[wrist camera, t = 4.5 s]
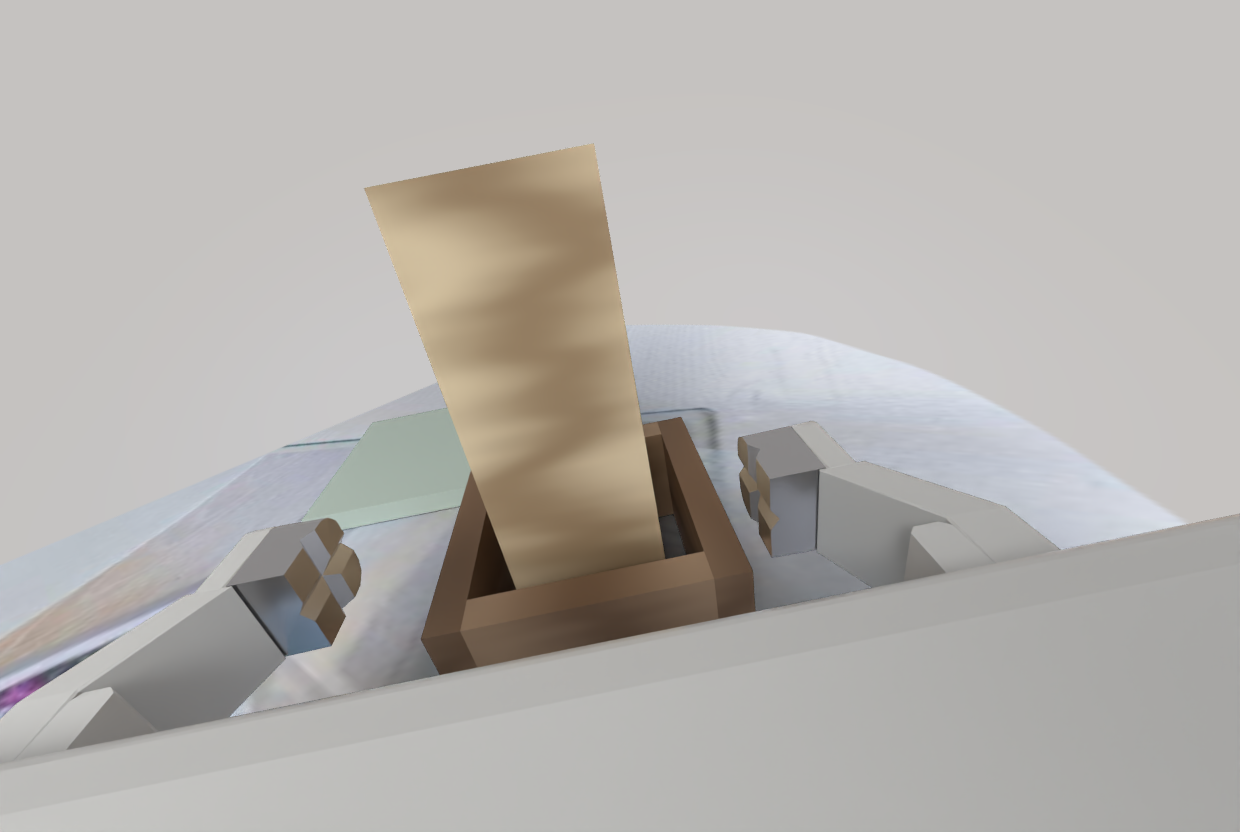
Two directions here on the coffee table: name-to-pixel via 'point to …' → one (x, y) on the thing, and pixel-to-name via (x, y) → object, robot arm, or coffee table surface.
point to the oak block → (530, 355)
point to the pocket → (590, 576)
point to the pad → (397, 472)
